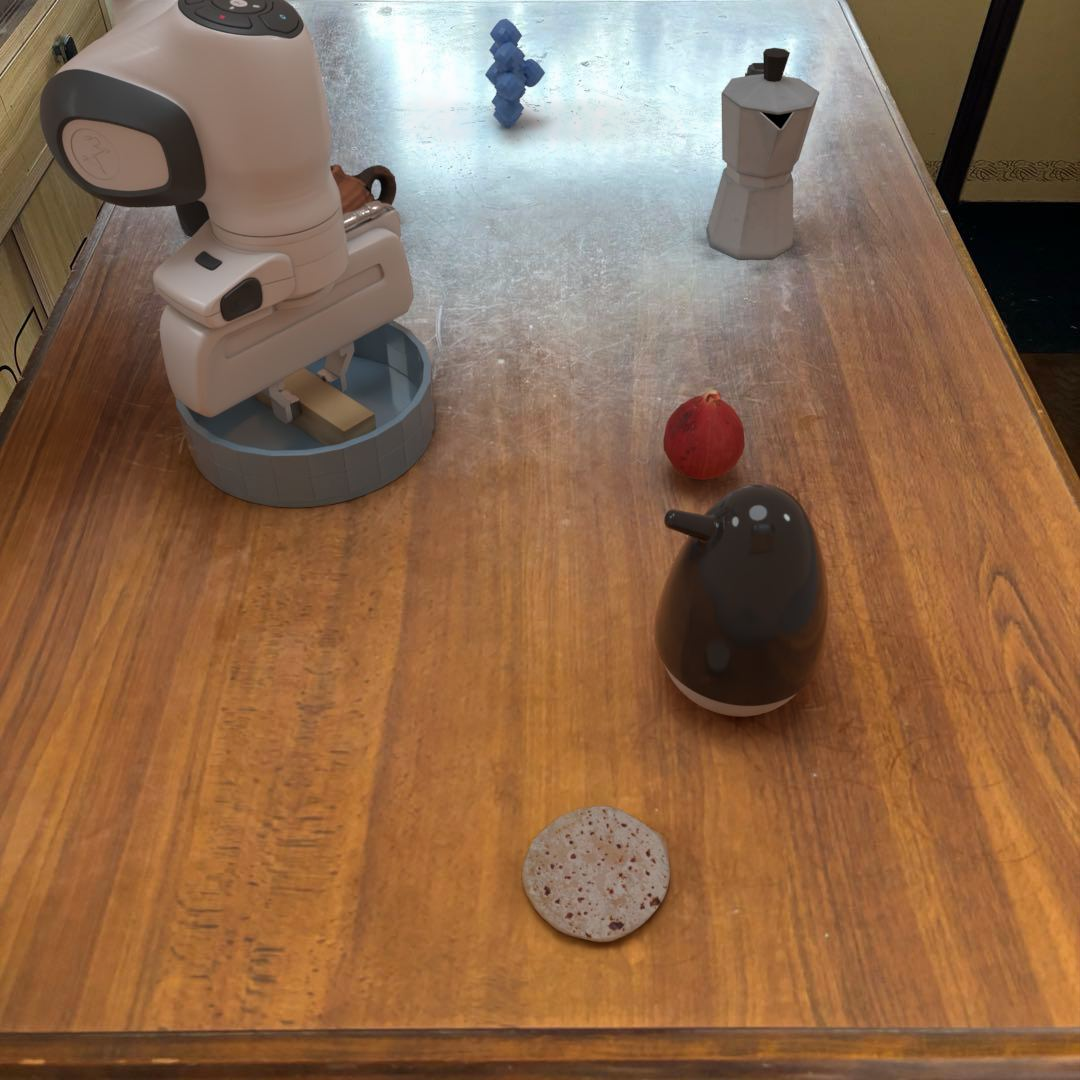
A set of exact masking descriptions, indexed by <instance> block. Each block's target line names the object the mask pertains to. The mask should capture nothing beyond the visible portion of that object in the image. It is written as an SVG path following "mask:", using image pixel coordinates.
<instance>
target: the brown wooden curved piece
mask: <svg viewBox="0 0 1080 1080" xmlns="http://www.w3.org/2000/svg"><path fill="white" fill-rule="evenodd" d="M330 167H331V172H332V175H333V177H334V179H335V181H336V184H337V186H338V188H339V192H340V197H341V204H342V212H343V214H345V213H348V212H351V211H355V210H358V209H360V208H362V207H363V206H364V205H365V204H367V203H369V202H372V201H380V202H381V203H387V204H390V205H391V206H393V203H394V201H395V199H396V196H397V182H396V176H395V175H394V174H393V173H392V172H391V170H390V169H389V168H388V167H386V166H385V165H382V164H376V165H371V166H369V167H367V168H365V169H364V170H362V171H361V172H359V173H357V174H355V175H350V174H347V173H345V171H344V170H343V168H342V166H341V165H340V164H333V165H330ZM376 180H377V181H378V182H379V184H380V192H379V195H378V198H375V195H374V194H373V193H372V188H373V185H374V182H375V181H376Z"/></svg>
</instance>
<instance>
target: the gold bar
mask: <svg viewBox="0 0 1080 1080" xmlns="http://www.w3.org/2000/svg"><path fill="white" fill-rule="evenodd" d="M284 385H285V387H284V389H282V390H279V392H281V391H283V390H285V389H286V390H287V391H289V392H290V393H291V395H295V396H296V397H298V398H299V399H300V402H301V407H300V409H301V410H302V415H301V416H299V417H298V418H296V419H294V420H293V421H291V423H293V424H294V425H296V426H297V427H299V428H300V429H301V430H303V431H304V432H306V433H307V434H309V435H310V436H312V437H313V438H314V439H316V440H317V441H319V442H320V443H322V444H323V445H325V446H331V445H336V444H341V443H343V442H346V441H349V440H352V439H354V438H357V437H360V436H363V435H365V434H368V433H371V432H372V431H374V430H376V422H375V414H374V413H373V412H371V411H370V410H368V409H367V408H365V407H364V406H362V405H361V404H359V403H357V402H356V401H354V400H353V399H351V398H350V397H348V396H347V395H345V394H344V393H342V392H340V391H339V390H337V389H336V388H334V387H333V386H331V385H330V384H328V383H327V382H325V381H324V380H322V379H320V378H319V377H317V376H316V375H314V374H313V373H311V372H310V371H308V370H307V369H305V368H303V369H301V370H299V371H297V372H296V373H294V374H292V375H290V376H288V377H286V378H284ZM253 396H254V397H255V398H257V399H258V400H260V401H261V402H262V403H264V404H265V405H267V406H268V407H270V408H271V409H273V408H272V403H271V399H270V398H268V397H267V396H266V395H265V394H264V393H262V392H261V391H260V392H259V393H257V394H255V395H253Z"/></svg>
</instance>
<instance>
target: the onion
mask: <svg viewBox="0 0 1080 1080" xmlns="http://www.w3.org/2000/svg"><path fill="white" fill-rule="evenodd" d="M662 440H663V451H664V454H665V455H666V456H667V459H668V460H669V462H670V464H671V466H672V468H674V469H675V470H677V471H678V472H679V473H681V474H683V475H684V476H685V477H687V478H692V479H695V480H700V481H704V480H710V479H714V478H718V477H720V476H722V475H725V474H726V473H727V472H729V471H731V470H732V469H733V468H734V467H735V466H736V464H737V463H738V462H739V460H740V459H741V457H742V455H743V452H744V449H745V446H746V445H745V443H746V441H745V440H746V439H745V428H744V425H743V422H742V420H741V418H740V416H739V414H738V413H737V412H736V410H735V409H734V408H733V407H732V406H731V405H730V404H728V403H727V402H726V401H724V400H723V399H722V395H721V392H720V391H719V390H718V389H714V388H710V389H708V391H705V392H704V393H703V394H702V395H697V396H694V397H692V398H690V399H688V400H686V401H685V402H682V403H681V404H680V405H679V406H678V407H677V408H676V409H675V410H674V411H673V412H672V414H671V415H670V416H669V418H668V420H667V421H666V425H665V430H664V434H663V439H662Z"/></svg>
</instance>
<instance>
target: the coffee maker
mask: <svg viewBox="0 0 1080 1080" xmlns="http://www.w3.org/2000/svg"><path fill="white" fill-rule="evenodd" d="M790 55H791V52H789V51H788V50H787V49H785V48H780V47H769V48H765V49H764V51H762V59H763V62H752V63H751V64H749V65H748V67H747V69H746V72H744V75H743V76H739V77H733V78H730V80H729V82H728V83H727V84H726V86H725V87H724V89H723V90H722V91H721V160H722V161H723V162H724V163H725V164H726V167H724V168H723V170H722V174H721V177H720V181H719V184H718V187H717V190H716V194H715V198H714V201H713V203H712V208H711V212H710V215H709V219H708V221H707V226H706V228H705V230H706V236H707V241H708V244H709V247H710V248H712V249H714V250H716V251H718V252H720V253H723V254H725V255H727V256H730V257H732V258H734V259H735V260H773V259H775V258H777V257H778V256H780V255H782V254H783V253H785V252H786V251H788V250H789V249H792V248H793V247H794V231H793V230H794V179H793V175H792V172H793V170H794V167H795V165H796V164H797V163H798V161H799V160H800V157H801V153H802V150H803V148H804V145H805V141H806V137H807V134H808V130H809V127H810V124H811V121H812V117H813V115H814V112H815V108H816V105H817V102H818V98H819V95H820V91H819V90H817V89H815V88H814V87H813V86H811V85H810V84H808V83H807V82H806V81H804V80H802V79H801V78H799V77H791V76H785V75H784V72H785V70H786V66H787V64H788V62H789V61H788V60H789V57H790Z"/></svg>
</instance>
